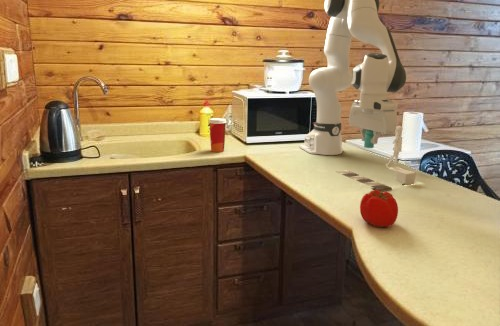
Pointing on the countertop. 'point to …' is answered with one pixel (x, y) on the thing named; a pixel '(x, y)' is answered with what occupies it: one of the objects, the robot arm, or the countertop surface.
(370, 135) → the pawn
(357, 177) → the board
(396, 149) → the figurine
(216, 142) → the coffee cup
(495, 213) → the countertop surface
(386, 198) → the tomato
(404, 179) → the beige cube
